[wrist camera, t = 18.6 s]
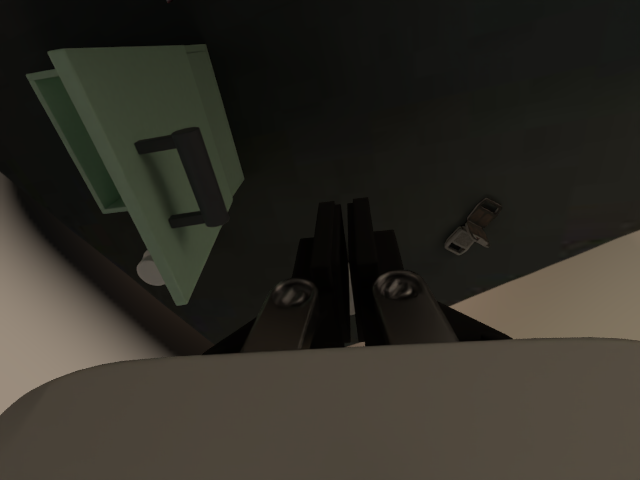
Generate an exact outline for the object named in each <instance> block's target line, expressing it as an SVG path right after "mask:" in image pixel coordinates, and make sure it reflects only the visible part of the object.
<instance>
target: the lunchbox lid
mask: <svg viewBox="0 0 640 480" xmlns="http://www.w3.org/2000/svg"><path fill="white" fill-rule="evenodd" d="M48 55H49V57H50V59H51V61H52V63H53V65H54V67H55V69H56V71H57V73H58V75H59V77H60V78H61V80H62V82H63V84H64V86H65V88H66V90H67V92H68V94H69V96H70V98H71V100H72V102H73V104H74V106H75V108H76V110H77V112H78V114H79V116H80V118H81V120H82V122H83V124H84V125H85V127H86V129H87V131H88V133H89V135H90V137H91V139H92V141H93V143H94V145H95V147H96V149H97V151H98V153H99V155H100V157H101V159H102V161H103V163H104V165H105V167H106V169H107V171H108V172H109V174H110V176H111V178H112V180H113V182H114V184H115V186H116V188H117V190H118V192H119V194H120V196H121V198H122V200H123V202H124V204H125V206H126V208H127V210H128V212H129V214H130V216H131V218H132V220H133V221H134V223H135V225H136V227H137V229H138V231H139V233H140V235H141V237H142V239H143V241H144V243H145V245H146V247H147V249H148V251H149V253H150V255H151V257H152V259H153V261H154V263H155V265H156V267H157V268H158V270H159V272H160V274H161V276H162V278H163V280H164V282H165V284H166V286H167V288H168V290H169V292H170V294H171V296H172V298H173V300H174V302H175V304H176V305H177V306H178V305H185V304H187V303H188V301H189V299H190V297H191V294H192V292H193V290H194V288H195V285H196V283H197V281H198V278H199V276H200V274H201V272H202V269H203V267H204V265H205V263H206V260H207V258H208V256H209V253H210V251H211V249H212V247H213V244H214V242H215V240H216V238H217V235H218V233H219V231H220V229H221V226H222V225H223V224H225V223H226V222H228V221H229V215H228V210H229V208H230V206H231V204H232V201H233V199H232V195H231V192H230V189H229V186H228V183H227V180H226V177H225V173H224V170H223V167H222V164H221V161H220V158H219V154H218V151H217V148H216V145H215V142H214V139H213V136H212V132H211V129H210V126H209V123H208V120H207V117H206V113H205V110H204V107H203V104H202V101H201V98H200V95H199V91H198V88H197V85H196V82H195V79H194V76H193V72H192V69H191V66H190V63H189V60H188V57H187V54H186V50H185V47H184V45H171V46H136V47H102V48H67V49H58V50H52V51H48Z"/></svg>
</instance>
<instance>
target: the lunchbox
mask: <svg viewBox="0 0 640 480" xmlns="http://www.w3.org/2000/svg"><path fill="white" fill-rule="evenodd" d="M184 47H185V50H186V54H187V57H188V60H189V63H190V66H191V69H192V72H193V76H194V79H195V82H196V85H197V88H198V91H199V95H200V98H201V101H202V104H203V107H204V110H205V113H206V117H207V120H208V123H209V126H210V129H211V132H212V136H213V139H214V142H215V145H216V148H217V151H218V154H219V158H220V161H221V164H222V167H223V170H224V173H225V177H226V180H227V183H228V186H229V189H230V192H231V195H232V196H233V195H234V194H235V192H236V191H237V189H238V188H239V186H240V185H241V183H242V182H243V180H244V176H243V172H242V169H241V165H240V162H239V158H238V155H237V151H236V148H235V144H234V141H233V137H232V134H231V130H230V127H229V123H228V120H227V116H226V113H225V109H224V106H223V102H222V99H221V95H220V92H219V88H218V85H217V81H216V78H215V74H214V71H213V68H212V64H211V61H210V57H209V54H208V50H207V47H206V44H199V45H185V46H184ZM26 77H27V78H28V80H29V82H30V84H31V86H32V88H33V89H34V91H35V93H36V95H37V97H38V98H39V100H40V102H41V104H42V105H43V107H44V109H45V111H46V113H47V114H48V116H49V118H50V120H51V122H52V123H53V125H54V127H55V129H56V131H57V132H58V134H59V136H60V138H61V139H62V141H63V143H64V145H65V147H66V148H67V150H68V152H69V154H70V156H71V157H72V159H73V161H74V163H75V165H76V166H77V168H78V170H79V172H80V174H81V175H82V177H83V179H84V181H85V182H86V184H87V186H88V188H89V190H90V191H91V193H92V195H93V197H94V199H95V200H96V202H97V204H98V206H99V208H100V209H101V211H102V213H103V214H105V213H114V212H123V211H128V210H127V208H126V206H125V204H124V202H123V200H122V198H121V196H120V194H119V192H118V190H117V188H116V186H115V184H114V182H113V180H112V178H111V176H110V174H109V172H108V171H107V169H106V167H105V165H104V163H103V161H102V159H101V157H100V155H99V153H98V151H97V149H96V147H95V145H94V143H93V141H92V139H91V137H90V135H89V133H88V131H87V129H86V127H85V125H84V124H83V122H82V120H81V118H80V116H79V114H78V112H77V110H76V108H75V106H74V104H73V102H72V100H71V98H70V96H69V94H68V92H67V90H66V88H65V86H64V84H63V82H62V80H61V78H60V77H59V75H58V73H57V71H56V69H52V70H47V71H42V72H36V73H31V74H26Z"/></svg>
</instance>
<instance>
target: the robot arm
mask: <svg viewBox="0 0 640 480" xmlns="http://www.w3.org/2000/svg"><path fill="white" fill-rule="evenodd" d="M348 247H349V267H348V258H347V251H346V243H345V235H344V228H343V220H342V212H341V205H340V204H339V205H335V202H334V201H331V202H322V203H319V207H318V214H317V221H316V228H315V235H314V238H304V239H300V242H299V247H298V252H297V256H296V261H295V266H294V271H293V275H292V278H290V279H286V280H283V281H281V282H279V283H278V284H276V285H275V286H274V287H273V288H272V289H271V290H270V292H269V293H268V295H267V297H266V299H265V302H264V304H263V306H262V308H261V310H260V312H259V314H258V316H257V317H256V318H255V319H253V320H252V321H250V322H249V323H247V324H246V325H244V326H243V327H241V328H240V329H238V330H237V331H235V332H234V333H232V334H231V335H229V336H228V337H226V338H225V339H223V340H222V341H220V342H219V343H217V344H216V345H214V346H213V347H211V348H210V349H209V350H207V351H206V352H204V353H203V354H202V355H198V356H180V357H163V358H151V359H140V360H129V361H120V362H114V363H108V364H102V365H98V366H94V367H91V368H86V369H82V370H78V371H75V372H73V373H70V374H67V375H64V376H62V377H59V378H56V379H54V380H51V381H49V382H47V383H45V384H43V385H41V386H39V387H37V388H35V389H33V390H31V391H30V392H28V393H26V394H25V395H23V396H22V397H21V398H19V399H18V400H17V401H16V402H15V403H13V404H12V405H11V406H10V407H9V408H7V409H6V410H5V411H4V412H3V413H2V414H1V415H0V480H640V341H637V340H628V339H617V338H593V337H582V338H532V339H512V338H511V337H509V336H507V335H506V334H503V333H502V332H499V331H497V330H495V329H493V328H491V327H489V326H487V325H485V324H483V323H481V322H479V321H477V320H475V319H473V318H471V317H469V316H467V315H464V314H462V313H460V312H458V311H456V310H454V309H452V308H450V307H448V306H446V305H444V304H442V303H440V302H438V301H436V299H435V297H434V296H433V294H432V292H431V290H430V289H429V287H428V285H427V283H426V282H425V280H424V279H423V278H422V277H421V276H420V275H418V274H417V273H415V272H412V271H409V270H404V268H403V264H402V260H401V256H400V252H399V248H398V245H397V241H396V237H395V233H394V230H387V231H376V232H373V227H372V220H371V214H370V207H369V201H368V197H367V198H358V199H353V203H348ZM349 269H350V278H351V286H352V293H353V301H354V309H355V317H356V325H357V332H358V340H359V342H365V347H344V343H350V342H351V337H350V294H349Z"/></svg>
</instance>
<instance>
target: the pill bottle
mask: <svg viewBox="0 0 640 480" xmlns="http://www.w3.org/2000/svg"><path fill="white" fill-rule="evenodd" d="M137 273H138V275H139V276H140V278H141V279H142V280H143V281H145V282H146V283H148V284H151V285H156V286H160V285H163V284H165V282H164V280H163V278H162V276H161V274H160V272H159V270H158V268H157V267H156V265H155V263H154V261H153V259H152V257H151V255H150V253H149V251H148V249H147V251H146V252H145V253H144V256H143V259H142V260H141V262H140V263H139V264H138V266H137Z"/></svg>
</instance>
